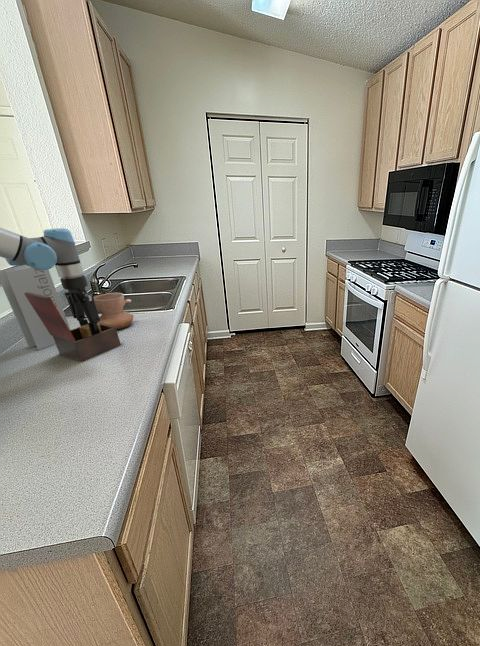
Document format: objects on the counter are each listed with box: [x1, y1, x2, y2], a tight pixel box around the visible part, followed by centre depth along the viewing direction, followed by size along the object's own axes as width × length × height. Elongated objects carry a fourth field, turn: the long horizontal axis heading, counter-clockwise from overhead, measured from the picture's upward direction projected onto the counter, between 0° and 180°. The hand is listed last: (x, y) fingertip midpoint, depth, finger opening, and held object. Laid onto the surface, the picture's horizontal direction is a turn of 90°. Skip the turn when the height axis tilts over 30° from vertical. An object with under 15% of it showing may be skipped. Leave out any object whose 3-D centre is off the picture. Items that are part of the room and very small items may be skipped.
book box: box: [53, 323, 122, 362], centre depth 125 cm, size 16×14×8 cm
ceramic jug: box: [94, 292, 134, 331], centre depth 145 cm, size 18×14×14 cm
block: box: [78, 324, 102, 339], centre depth 125 cm, size 5×5×5 cm
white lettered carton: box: [0, 265, 71, 351], centre depth 127 cm, size 14×6×30 cm, turn 159°
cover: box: [24, 292, 75, 342], centre depth 112 cm, size 16×14×1 cm
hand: (92, 337), depth 126 cm, fingers closed on block, 5 cm apart
